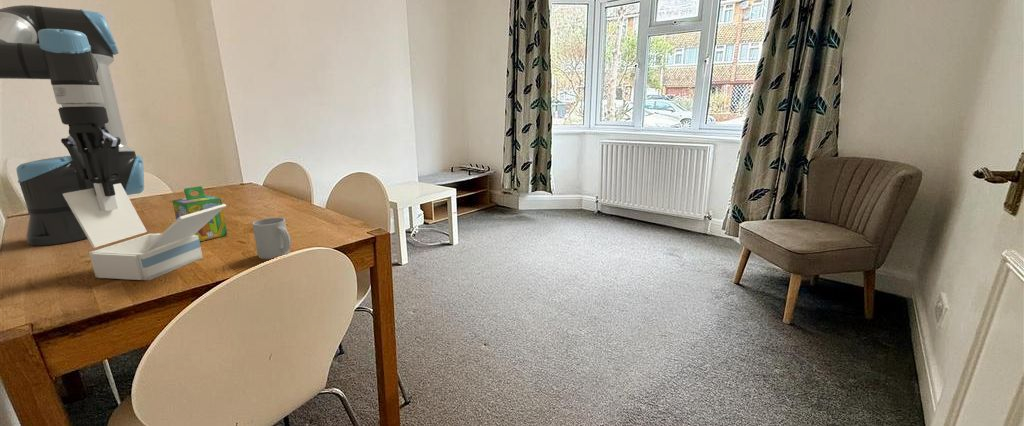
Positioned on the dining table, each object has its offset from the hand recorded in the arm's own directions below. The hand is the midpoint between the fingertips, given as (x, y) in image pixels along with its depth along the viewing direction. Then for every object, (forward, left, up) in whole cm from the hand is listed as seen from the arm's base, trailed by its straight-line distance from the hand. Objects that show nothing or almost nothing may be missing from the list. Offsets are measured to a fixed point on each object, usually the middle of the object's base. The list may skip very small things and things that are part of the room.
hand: (109, 209), depth 99 cm
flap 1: (+1, +1, -7) cm, 7 cm away
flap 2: (+13, +7, -7) cm, 16 cm away
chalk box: (-11, +20, -14) cm, 27 cm away
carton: (+7, +4, -14) cm, 16 cm away
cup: (+23, +26, -14) cm, 38 cm away
